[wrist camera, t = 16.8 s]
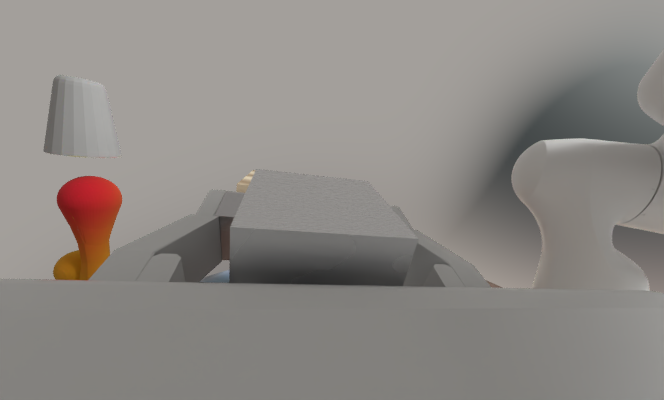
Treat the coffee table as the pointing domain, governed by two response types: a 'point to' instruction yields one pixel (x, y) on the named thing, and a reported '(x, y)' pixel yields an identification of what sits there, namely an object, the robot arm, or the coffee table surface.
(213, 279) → the coffee table surface
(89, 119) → the lava lamp
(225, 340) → the robot arm
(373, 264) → the gray rectangular block
